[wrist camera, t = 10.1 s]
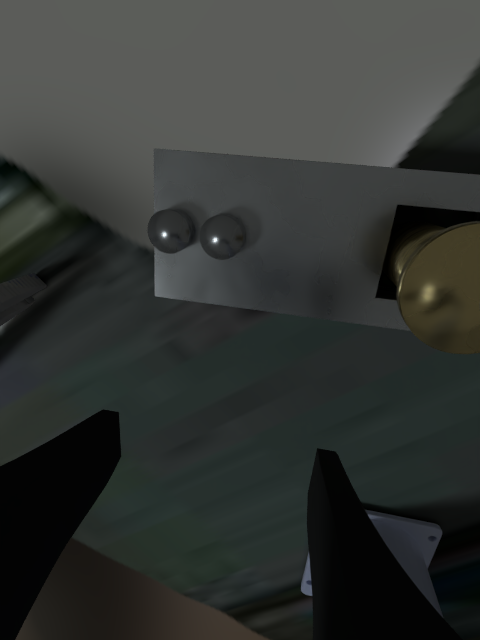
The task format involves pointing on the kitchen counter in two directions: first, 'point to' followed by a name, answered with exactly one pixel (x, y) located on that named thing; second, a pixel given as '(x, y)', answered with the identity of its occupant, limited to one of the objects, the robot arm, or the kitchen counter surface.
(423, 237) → the pin
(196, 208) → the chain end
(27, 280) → the caliper
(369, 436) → the kitchen counter surface
